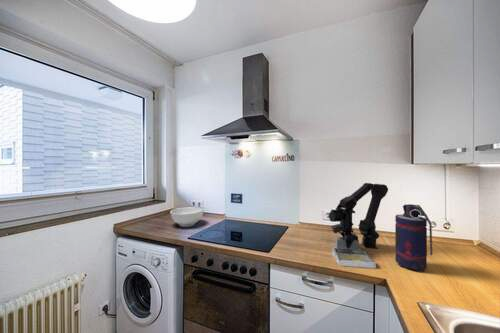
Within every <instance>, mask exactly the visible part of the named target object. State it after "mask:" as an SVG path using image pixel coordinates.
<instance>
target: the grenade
mask: <svg viewBox="0 0 500 333" xmlns="http://www.w3.org/2000/svg"><path fill="white" fill-rule="evenodd" d="M402 208H403V214H396V215H395V218H394V220H395V221H394V222H395V225H394V226H395V232H394V234H395V239H394V240H395V247H394V248H395V262H396V263H397V265H398V266H399V267H401V268H403V267H405V268H408V269H410V270H415V271H416V272H418V273H422V272H423V270H427V266H428V263H427V260H428V258H427V257H428V249H427V248H428V242H427V241H428V232H427V231H428V229H427V227H428V224H429V227H428V228H429V249H430V250H429V252H430V256H432V255H433V230H432V228H433V227H432V222H431V220H430V218H429V217H428V215H427V214H426V212H425V211H424V209H423V208H422V207H421V205H419V204H412V203H411V204H404V205H402Z"/></svg>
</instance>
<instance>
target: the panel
mask: <svg viewBox="0 0 500 333" xmlns="http://www.w3.org/2000/svg"><path fill="white" fill-rule="evenodd" d="M334 248H347V246H346V240H345V238H342V237H340V236H334ZM350 249H360V240H359V239H358V241H356V240H354V241H353V243H352V244H351V246H350Z"/></svg>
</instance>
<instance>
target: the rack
mask: <svg viewBox="0 0 500 333" xmlns="http://www.w3.org/2000/svg"><path fill="white" fill-rule="evenodd" d="M330 253H331V255H332V256H333V258H334V259H335V260H336V263H337V264H338V266H340V267H353V268H366V269H376V268H377V262H376V261H375V260H374V259H373V258H372V257H371V256H370V255H369V254H368V253H367V252H366V251H365V250H364V249H361V248H359V249H350V248H335V247H331V252H330Z"/></svg>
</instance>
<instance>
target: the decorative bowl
mask: <svg viewBox="0 0 500 333" xmlns="http://www.w3.org/2000/svg"><path fill="white" fill-rule="evenodd" d="M204 211H205V209H204V208H203V207H198V206H197V207H196V206H186V207H178V208H174V209H172V210H170V211H169V212H170V217H171V218H172V220H173V221H174V223H176V224H178V225H179V226H180V227H182V228H188V227H189V228H190V227H193V226H195V225H196V223H198V222H199V221H200V220H201V219H202V216H203V214H204Z"/></svg>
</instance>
